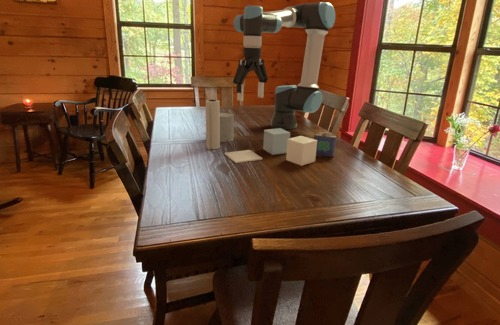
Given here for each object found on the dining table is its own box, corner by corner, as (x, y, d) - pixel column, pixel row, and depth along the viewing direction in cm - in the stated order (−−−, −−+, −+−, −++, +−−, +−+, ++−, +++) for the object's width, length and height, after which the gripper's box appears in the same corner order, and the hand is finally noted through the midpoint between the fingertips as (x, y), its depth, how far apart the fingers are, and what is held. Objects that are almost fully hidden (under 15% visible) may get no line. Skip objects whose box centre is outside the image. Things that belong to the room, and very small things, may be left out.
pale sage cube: (279, 147, 152) (280, 128, 149) (289, 152, 145) (290, 132, 142) (263, 149, 148) (264, 129, 145) (272, 154, 141) (273, 134, 138)
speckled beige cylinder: (230, 143, 156) (231, 117, 152) (211, 141, 158) (211, 116, 154) (235, 137, 165) (236, 113, 161) (217, 136, 167) (217, 112, 162)
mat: (249, 151, 145) (249, 149, 145) (262, 159, 135) (262, 158, 135) (224, 154, 140) (224, 152, 140) (235, 163, 130) (235, 161, 130)
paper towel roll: (214, 144, 152) (213, 98, 145) (222, 148, 148) (222, 100, 141) (201, 148, 148) (200, 100, 140) (209, 151, 144) (209, 102, 136)
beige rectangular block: (299, 156, 141) (301, 135, 138) (315, 161, 135) (317, 140, 132) (286, 159, 136) (287, 138, 132) (301, 165, 130) (303, 143, 127)
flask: (334, 155, 142) (337, 131, 139) (333, 157, 140) (336, 133, 136) (312, 153, 145) (314, 129, 141) (311, 155, 142) (314, 131, 138)
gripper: (263, 47, 147) (261, 95, 154) (224, 46, 129) (224, 100, 137) (277, 47, 143) (274, 97, 150) (238, 47, 125) (237, 103, 132)
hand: (250, 98), depth 143 cm, fingers open, 13 cm apart
